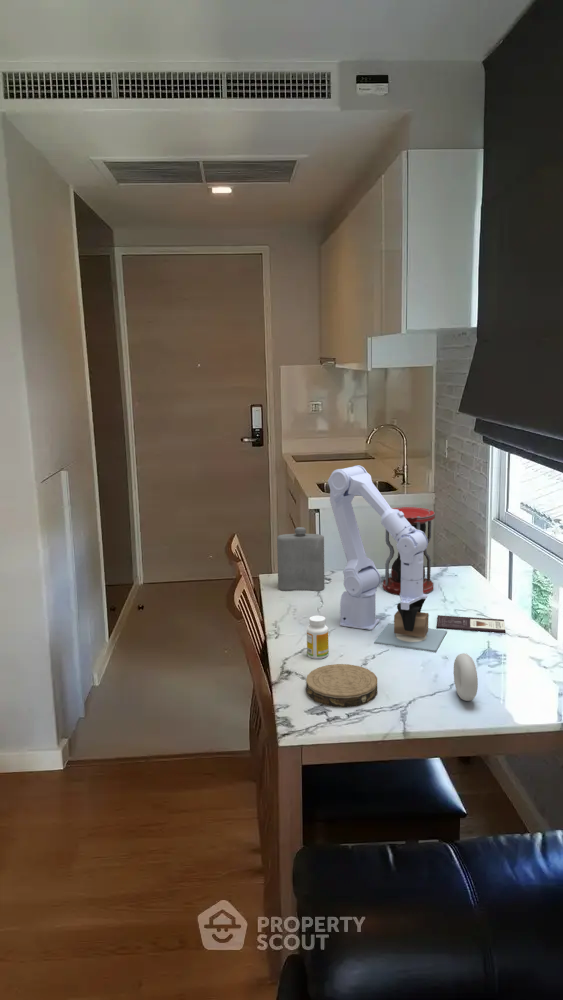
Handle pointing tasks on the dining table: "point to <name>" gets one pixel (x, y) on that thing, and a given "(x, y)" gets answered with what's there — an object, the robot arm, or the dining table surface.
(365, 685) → the wooden log slice
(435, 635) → the rubber mat
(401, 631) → the walnut block
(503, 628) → the chocolate bar
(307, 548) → the flask
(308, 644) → the supplement bottle
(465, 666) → the donut
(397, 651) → the dining table surface
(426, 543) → the robot arm
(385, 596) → the dining table surface
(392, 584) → the hourglass
